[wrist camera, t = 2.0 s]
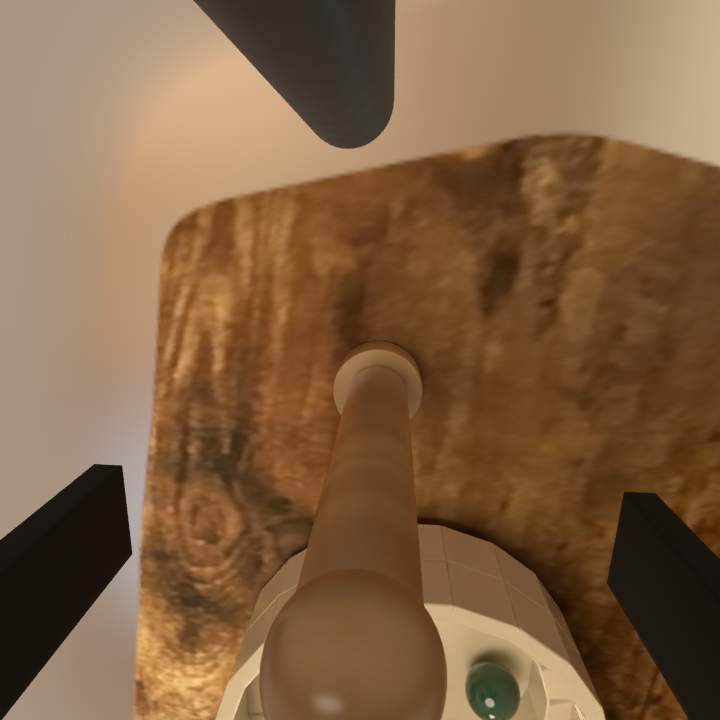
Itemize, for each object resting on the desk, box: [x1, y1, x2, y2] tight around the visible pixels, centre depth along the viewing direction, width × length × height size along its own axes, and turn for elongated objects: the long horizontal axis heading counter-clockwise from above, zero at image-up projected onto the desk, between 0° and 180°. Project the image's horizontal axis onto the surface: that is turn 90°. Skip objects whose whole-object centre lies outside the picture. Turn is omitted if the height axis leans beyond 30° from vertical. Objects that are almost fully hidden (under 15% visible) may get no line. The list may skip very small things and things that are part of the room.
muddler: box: [259, 341, 447, 720], centre depth 15 cm, size 4×4×17 cm
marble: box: [465, 660, 521, 720], centre depth 26 cm, size 3×3×3 cm
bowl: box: [215, 524, 606, 720], centre depth 25 cm, size 18×18×6 cm
